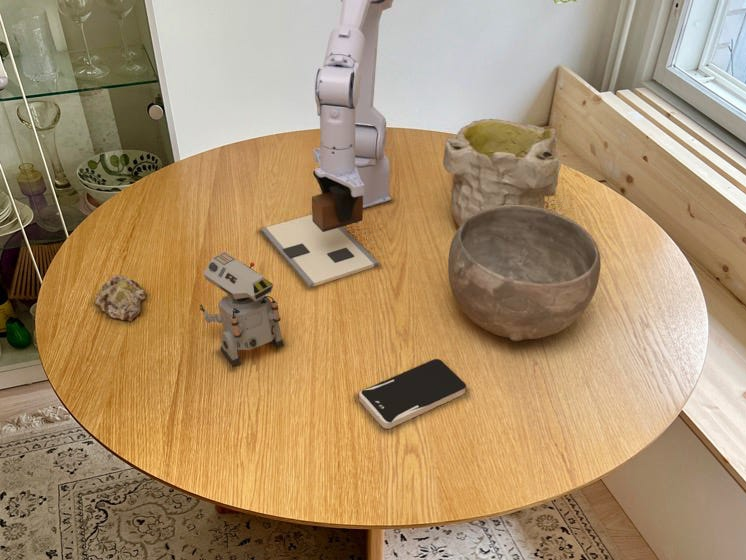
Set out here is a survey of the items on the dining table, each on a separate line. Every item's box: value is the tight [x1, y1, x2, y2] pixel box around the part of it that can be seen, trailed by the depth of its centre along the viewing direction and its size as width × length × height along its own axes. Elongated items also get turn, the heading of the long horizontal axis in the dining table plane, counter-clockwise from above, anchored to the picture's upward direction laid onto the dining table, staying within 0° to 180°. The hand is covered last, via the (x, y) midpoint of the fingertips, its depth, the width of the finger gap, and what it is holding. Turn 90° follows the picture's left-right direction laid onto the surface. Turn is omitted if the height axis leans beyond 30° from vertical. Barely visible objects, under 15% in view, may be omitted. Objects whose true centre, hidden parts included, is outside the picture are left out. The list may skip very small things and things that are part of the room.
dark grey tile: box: [283, 243, 310, 258], centre depth 137 cm, size 4×3×1 cm
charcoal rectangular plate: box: [327, 248, 354, 263], centre depth 137 cm, size 4×3×1 cm
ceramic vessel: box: [442, 118, 562, 228], centre depth 141 cm, size 23×24×25 cm
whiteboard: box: [260, 214, 379, 289], centre depth 139 cm, size 14×20×1 cm
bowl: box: [447, 205, 602, 342], centre depth 122 cm, size 24×24×15 cm
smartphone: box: [358, 358, 467, 430], centre depth 112 cm, size 8×1×15 cm
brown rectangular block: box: [311, 191, 364, 232], centre depth 132 cm, size 8×4×5 cm, turn 121°
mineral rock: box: [94, 274, 147, 322], centre depth 125 cm, size 11×4×8 cm
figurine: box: [199, 251, 284, 367], centre depth 115 cm, size 9×12×15 cm
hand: (338, 214), depth 133 cm, fingers closed on brown rectangular block, 4 cm apart
